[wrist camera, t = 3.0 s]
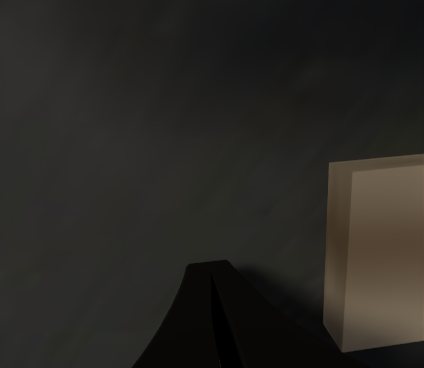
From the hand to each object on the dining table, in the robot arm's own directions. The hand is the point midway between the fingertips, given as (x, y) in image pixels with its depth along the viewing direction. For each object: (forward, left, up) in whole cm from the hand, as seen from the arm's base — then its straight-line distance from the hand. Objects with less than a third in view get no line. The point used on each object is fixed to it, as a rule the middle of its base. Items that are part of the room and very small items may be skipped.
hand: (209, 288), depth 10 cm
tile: (+3, -8, -2) cm, 9 cm away
